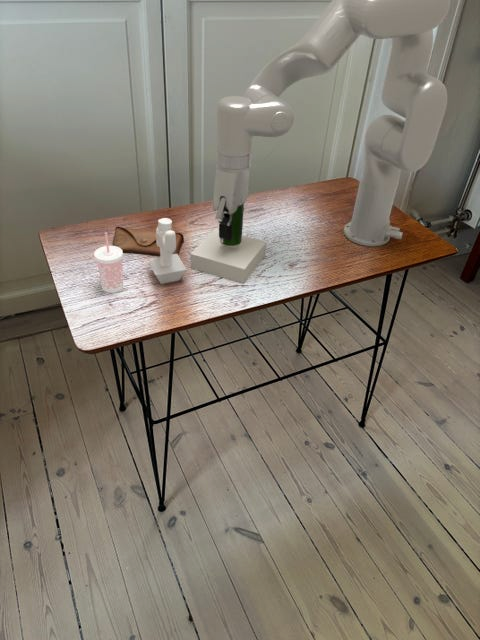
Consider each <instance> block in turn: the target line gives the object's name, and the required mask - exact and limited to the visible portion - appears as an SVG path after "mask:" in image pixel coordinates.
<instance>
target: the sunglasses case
mask: <svg viewBox="0 0 480 640" xmlns="http://www.w3.org/2000/svg"><path fill="white" fill-rule="evenodd" d="M114 230H115V231H114V234H113V240H112V244H111V246H117V247H119V248H121V249H122V251H123V254H124V253H125V254H133V255H134V254H136V255H147V256H155V257H160V247H158V246H157V244H156V230H151V229H142V228H140V229H139V228H129V227H123V226H115V228H114ZM175 234H176V249H175V251H174V252H173V253H172V254H178V255H179V254H180V251H181V249H182V247H183V244H184V243H185V242H184V240H185V239H184V238H185V237H184V234H182V232H181V233H180V232H175Z"/></svg>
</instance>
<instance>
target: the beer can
mask: <svg viewBox="0 0 480 640" xmlns="http://www.w3.org/2000/svg"><path fill="white" fill-rule="evenodd" d="M243 209H244V210H245V203H244V200H243V198H242V199H241V200H240V203H239V205H238V208H237V210H236V211H235V212H234V213H233V216H232V222H231V224H233V231H232V239H231V240H227V239H223V238H219V240H220V243H221V244H222V245H223V246H224V247H227V248H235V247H238V246H239V245H240V243H241V241H242V235H243V228H244V227H243V225H244V224H243V223H244V212H243ZM225 210H226V211H229V210H228V209H227V208H225ZM228 216H229V215H228V214H224V217H226V218H227V219H228Z"/></svg>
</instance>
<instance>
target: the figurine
mask: <svg viewBox="0 0 480 640" xmlns="http://www.w3.org/2000/svg"><path fill="white" fill-rule="evenodd" d="M157 223H158V224H157V227H156V229H155V231H156V244H157V246H158V247H160V256H155V257H150V258H147V261H148V263H149V264H150V267H151V269H152V271H153V273H154V275H155V277H156V279H157V280H158V281H159V283H160V285H162V284H169V283H173V282H178V281H180V280H181V279H182V277H183V275H184V274H185V272H186V271H187V268H186V266H185V264H184V263H183V260H181V258H180V256H179V254H172V253H173V252H174V251H175V249H176V234H175V233H176V231H174V230H173V229H172V228H173V227H172V226H173V221H172V219H170V218H168V217H162V218H159V219H158V221H157Z"/></svg>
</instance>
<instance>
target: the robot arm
mask: <svg viewBox="0 0 480 640" xmlns="http://www.w3.org/2000/svg"><path fill="white" fill-rule="evenodd" d="M451 2H452V1H451V0H331V2H330V3H329V4H328V6H327V7H326V8H325V9H324V11H322V13H321V14H320V15H319V17H318V18H317V19H316V21H314V23H313V24H312V26H311V27H310V28H309V29H308V31H307V32H306V33H305V34H304V35H303V37H302V38H301V39H300V40H298V42H297V43H295V44H294V45H292V46H290V47H289V48H287V49H286V50H285V51H282V52H281V53H280V54H279V55H277V56H276V57H274V58H272V60H270V61H269V62H267V64H266V65H264V66H263V68H262V69H261V70H260V71H259V72H258V73H257V74H256V76H255V77H254V78H253V80H252V81H251V82H250V84H249V85H248V86H247V88H246V90H245V91H244V93H243V95H242V96H240V95H229V96H228V95H227V96H225V97H223V98H221V99H220V100H219V101H218V103H217V107H216V108H217V110H216V111H217V114H216V116H217V117H216V118H217V119H216V157H215V158H216V160H215V161H216V165H215V166H216V172H215V177H214V184H213V185H214V186H213V197H212V209H213V211H215V212H216V214H215V220H217V221H218V226H219V227H218V229H219V237H220V238H223V239H227V240H231V239H232V231H233V224H231V222H232V216H233V213H234V212H235V211H236V210H237V208H238V205H239V203H240V200H241V199H242V198H243V200H244V204H245V203H246V201H247V199H248V196H249V187H250V185H249V184H250V169H251V167H252V155H253V154H252V150H253V137H263V138H278V137H281V136H284V135H285V134H287V133H288V132H289V131H290V130H291V129H292V127H293V125H294V119H295V116H294V111H293V109H292V107H291V106H290V105H289V104H288V103H287V102H286V101H285V100H283V99H282V98H280V97H281V95H282V94H283V93H284V92H285V91H286V90H287V89H289V87H291V86H293V85H294V84H295V83H296V82H300V81H302V80H304V79H309V78H313V77H318V76H322V75H325V74H328V73H329V72H331V71H332V70H333V69H334V68H335V66H336V65H337V64H338V63H339V62H340V60H341V59H342V57H344V55H345V54H346V53H347V52H348V51H349V49H351V47H352V46H353V44H354V43H355V42H356V41H357V40H358V39H359V37H360V36H363V37H366V38H370V39H374V40H386V39H388V40H389V39H392V40H391V41H392V42H391V43H392V44H391V50H390V57H389V60H388V64H387V69H386V73H385V77H384V81H383V87H382V91H381V101H382V104H383V105H384V107H385V108H387V109H388V110H389V111H391V112H393V113H394V114H396V115H399V116H400V117H402V118H404V119H405V120H404V119H402V118H400V117H398V116H396V115H392V114H382V115H380V116H379V115H378V117H376V118H374V119H373V120H372V121H371V123H369V126H368V127H367V129H366V133H365V135H364V156H363V164H362V171H361V175H360V180H359V184H358V189H357V193H356V194H357V195H356V198H355V203H354V209H353V212H352V217H351V220H350V221H349V222H348V223H346V224H345V225H344V227H343V234H344V237H346V238H347V239H348V240H350V242H353V243H354V244H355V243H356V244H357V245H361V246H366V247H380V246H383V245H385V244H387V243H388V242H389V241H390V239H391V238H393V239H397V240H402V237H403V233H404V232H403V231H401V230H400V228H399V227H395V226H392V225H390V224H391V220H390V215H391V212H392V209H393V205H394V201H395V197H396V194H397V188H398V186H399V183H400V179H401V178H400V177H401V171H403V172H406V173H413V172H417V171H419V170H421V169H422V168H423V167H424V166H425V165H426V164H427V162H428V161H429V159H430V157H431V156H432V154H433V152H434V151H433V150H434V148H435V145H436V142H437V139H438V135H439V132H440V128H441V127H442V122H443V119H444V117H445V113H446V109H447V105H448V91H447V87H446V85H445V84H444V83H443V82H442V81H441V80H440V79H438V78H437V77H434V76H432V75H429V74H428V69H429V68H428V67H429V63H430V58H431V55H432V51H433V44H434V29H436V28H437V27H438V26H440V25H441V24H442V22H443V21H444V20H445V19H446V17H447V15H448V13H449V11H450V7H451ZM225 208H227V209H228V210H229V211H226V210H225ZM244 211H245V208H244V209H243V213H245V212H244ZM224 214H228V215H229V216H228V219H227V218H226V217H224Z"/></svg>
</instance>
